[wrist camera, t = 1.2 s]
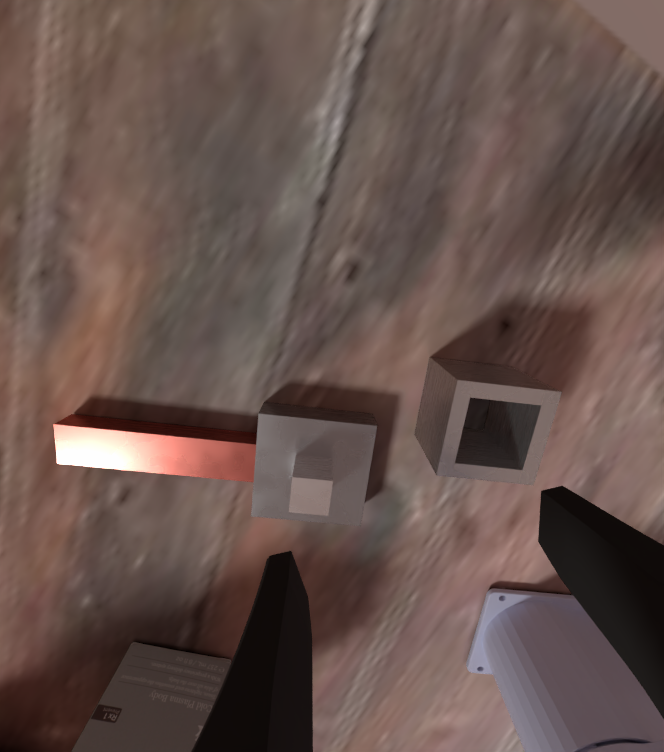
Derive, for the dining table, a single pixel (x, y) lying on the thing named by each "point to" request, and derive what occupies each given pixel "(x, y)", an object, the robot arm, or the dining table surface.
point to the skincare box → (154, 702)
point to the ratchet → (244, 456)
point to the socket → (502, 426)
